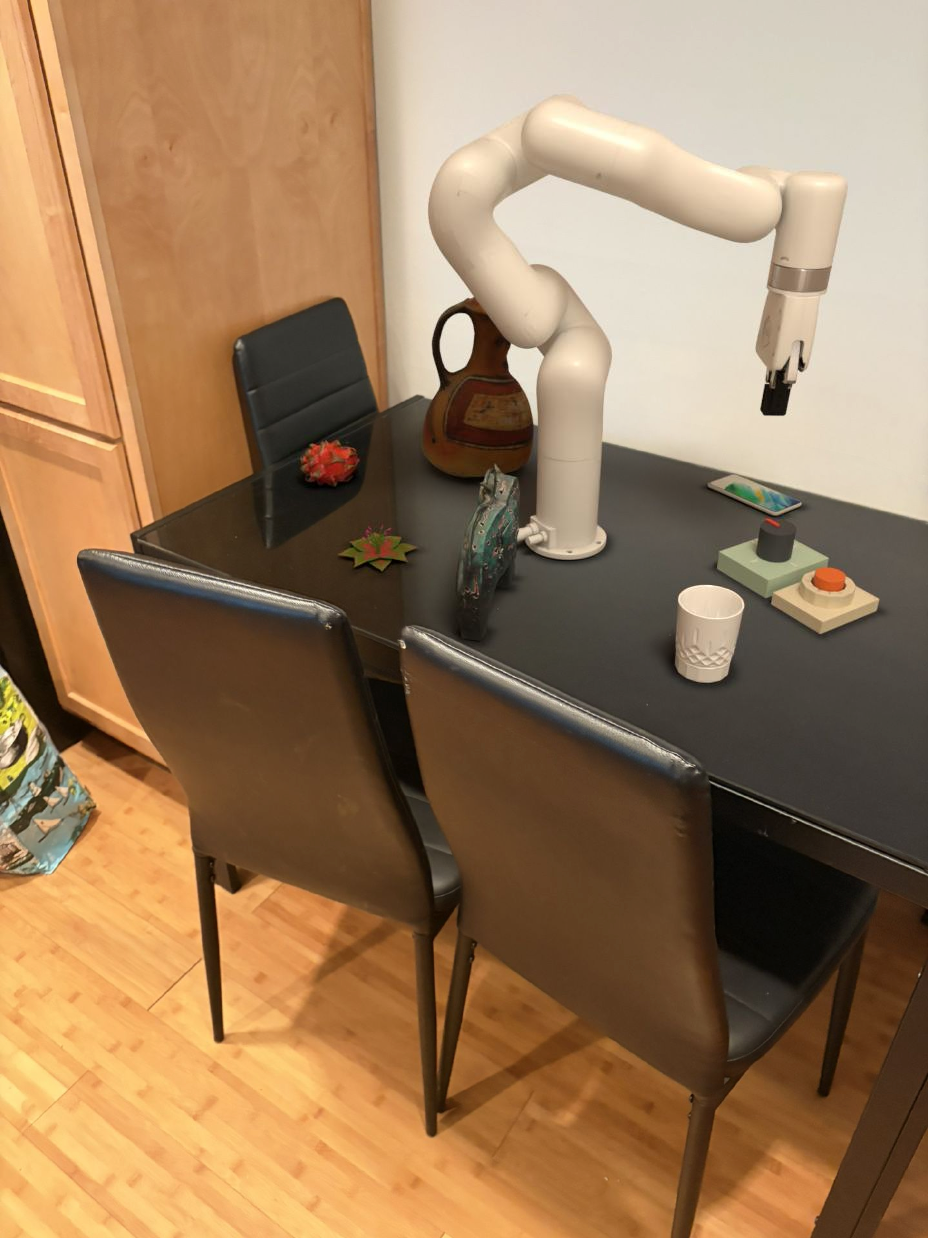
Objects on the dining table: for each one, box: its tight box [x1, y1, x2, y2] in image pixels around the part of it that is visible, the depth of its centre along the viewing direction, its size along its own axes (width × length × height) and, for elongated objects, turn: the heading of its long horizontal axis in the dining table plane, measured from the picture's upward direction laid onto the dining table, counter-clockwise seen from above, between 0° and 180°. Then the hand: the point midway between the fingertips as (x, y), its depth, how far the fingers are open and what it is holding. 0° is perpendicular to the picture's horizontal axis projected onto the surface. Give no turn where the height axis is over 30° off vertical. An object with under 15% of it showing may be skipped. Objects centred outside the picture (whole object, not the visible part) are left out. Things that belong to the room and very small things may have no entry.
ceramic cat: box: [454, 463, 521, 642], centre depth 131 cm, size 20×6×20 cm, turn 163°
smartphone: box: [707, 473, 802, 517], centre depth 164 cm, size 7×1×15 cm
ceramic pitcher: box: [421, 296, 535, 478], centre depth 169 cm, size 20×20×30 cm
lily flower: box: [337, 524, 419, 572], centre depth 149 cm, size 12×12×5 cm
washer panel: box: [716, 537, 830, 599], centre depth 142 cm, size 12×10×3 cm
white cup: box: [674, 584, 745, 684], centre depth 120 cm, size 8×8×10 cm
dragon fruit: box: [299, 439, 361, 488], centre depth 171 cm, size 8×8×12 cm
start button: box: [813, 566, 847, 592], centre depth 132 cm, size 4×4×2 cm
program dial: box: [756, 517, 797, 562], centre depth 140 cm, size 5×5×5 cm
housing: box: [770, 571, 880, 635], centre depth 133 cm, size 11×9×4 cm
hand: (772, 413), depth 134 cm, fingers closed
